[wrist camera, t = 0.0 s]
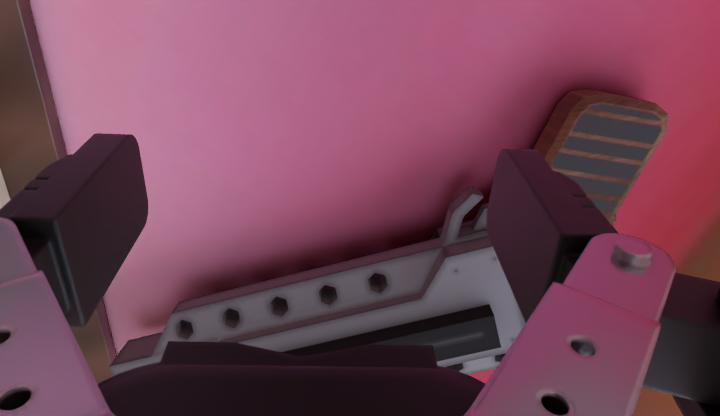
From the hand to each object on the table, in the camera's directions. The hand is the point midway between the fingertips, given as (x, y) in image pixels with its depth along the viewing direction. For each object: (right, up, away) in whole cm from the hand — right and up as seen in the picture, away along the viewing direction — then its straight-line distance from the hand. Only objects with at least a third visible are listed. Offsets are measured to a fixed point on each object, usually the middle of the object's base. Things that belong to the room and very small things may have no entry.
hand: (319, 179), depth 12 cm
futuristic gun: (+2, -3, +22) cm, 22 cm away
